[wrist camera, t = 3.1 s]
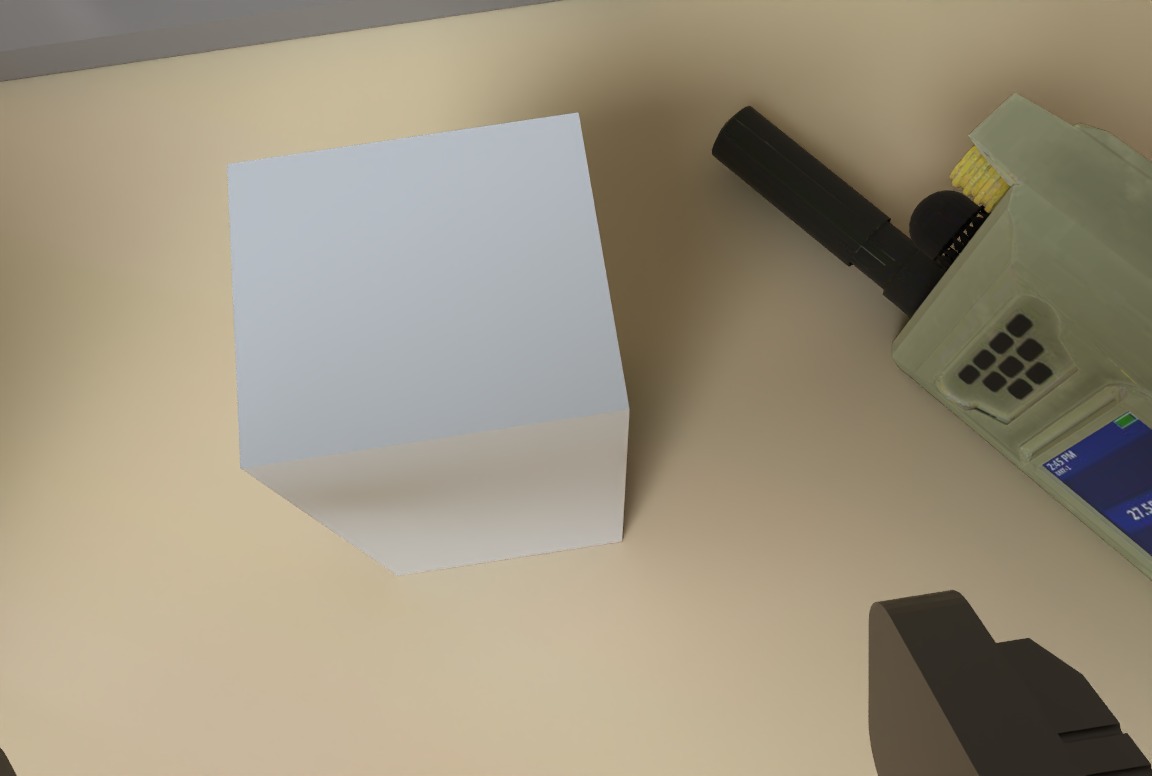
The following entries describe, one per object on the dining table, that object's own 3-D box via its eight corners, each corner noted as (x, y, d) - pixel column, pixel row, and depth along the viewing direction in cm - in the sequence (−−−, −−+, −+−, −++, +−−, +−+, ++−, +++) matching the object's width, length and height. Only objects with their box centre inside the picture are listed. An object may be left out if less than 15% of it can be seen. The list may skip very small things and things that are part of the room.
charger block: (592, 354, 22) (578, 112, 13) (622, 541, 20) (629, 409, 12) (380, 386, 21) (226, 163, 13) (397, 575, 20) (239, 468, 12)
